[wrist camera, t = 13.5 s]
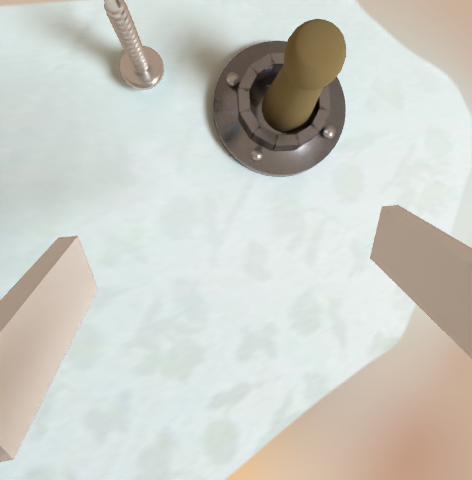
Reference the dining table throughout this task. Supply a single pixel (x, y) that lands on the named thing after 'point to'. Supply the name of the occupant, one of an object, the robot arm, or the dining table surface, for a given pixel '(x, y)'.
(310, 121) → the flange
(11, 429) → the robot arm
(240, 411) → the dining table surface
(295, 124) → the cork
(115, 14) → the screw
